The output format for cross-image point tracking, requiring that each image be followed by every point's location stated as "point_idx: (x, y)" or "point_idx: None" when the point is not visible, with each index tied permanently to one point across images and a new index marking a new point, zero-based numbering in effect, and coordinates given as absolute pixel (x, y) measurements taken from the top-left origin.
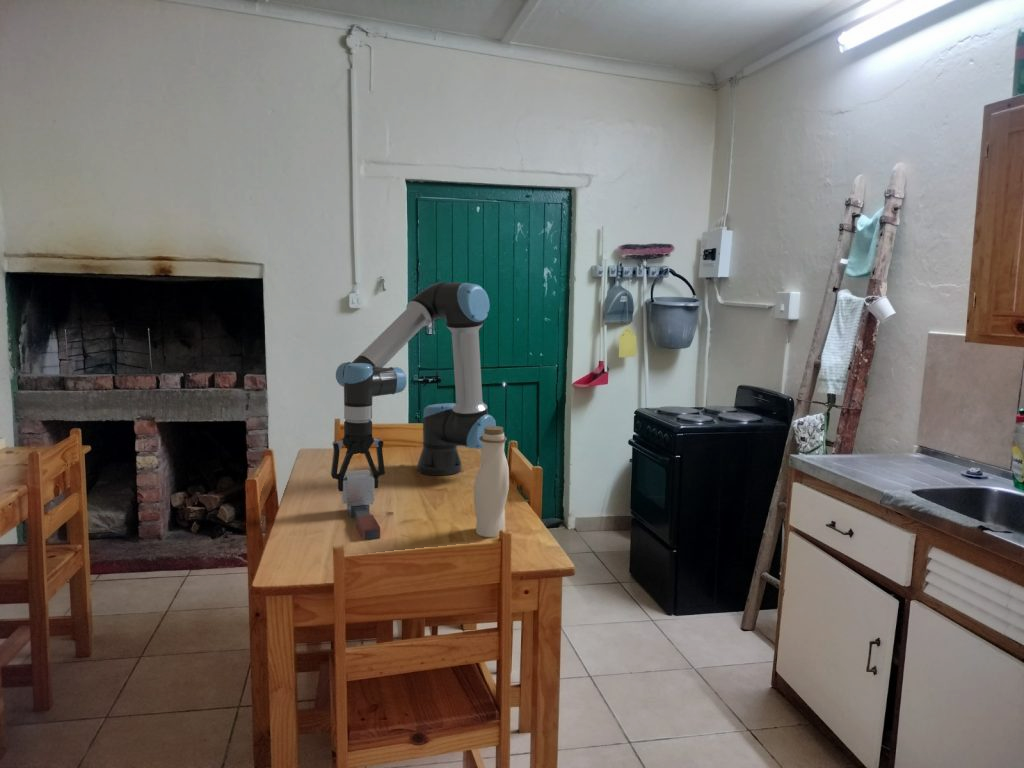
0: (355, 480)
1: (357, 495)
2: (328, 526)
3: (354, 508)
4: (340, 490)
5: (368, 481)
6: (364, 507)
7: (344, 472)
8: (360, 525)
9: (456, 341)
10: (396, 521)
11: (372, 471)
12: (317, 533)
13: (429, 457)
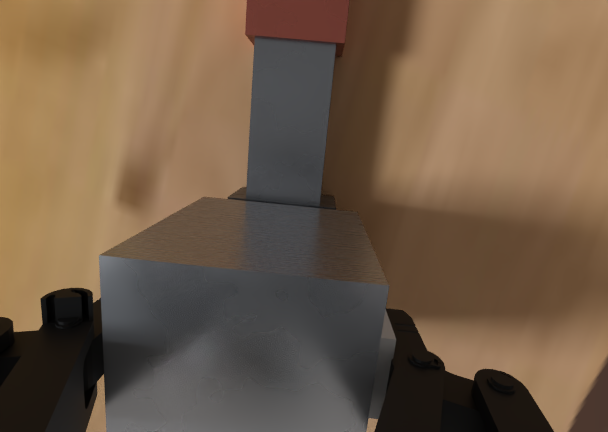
0: (299, 263)
1: (292, 220)
2: (474, 115)
3: (315, 203)
4: (396, 313)
5: (174, 243)
6: (257, 199)
7: (401, 399)
8: None
9: None
10: (127, 54)
11: (76, 356)
12: (561, 30)
13: None
